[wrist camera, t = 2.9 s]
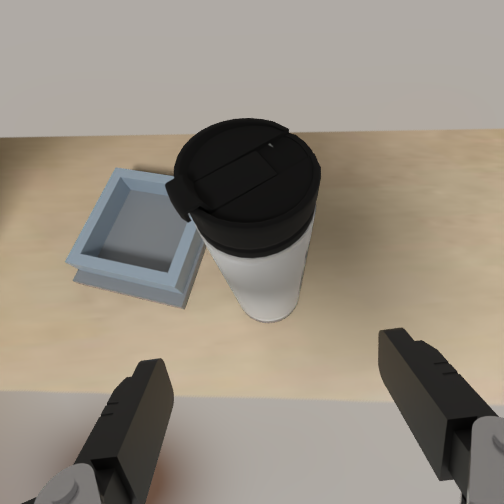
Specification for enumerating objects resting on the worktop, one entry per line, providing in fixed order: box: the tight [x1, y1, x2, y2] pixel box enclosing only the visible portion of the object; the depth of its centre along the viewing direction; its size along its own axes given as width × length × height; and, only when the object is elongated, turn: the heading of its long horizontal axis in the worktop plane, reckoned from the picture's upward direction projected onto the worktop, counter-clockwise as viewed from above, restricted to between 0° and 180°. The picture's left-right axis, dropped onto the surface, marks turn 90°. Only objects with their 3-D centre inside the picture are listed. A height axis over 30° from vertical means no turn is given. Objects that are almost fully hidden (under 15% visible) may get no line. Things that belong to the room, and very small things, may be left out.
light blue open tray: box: [65, 168, 206, 309], centre depth 32 cm, size 13×15×4 cm
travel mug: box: [165, 118, 321, 323], centre depth 20 cm, size 6×7×20 cm
